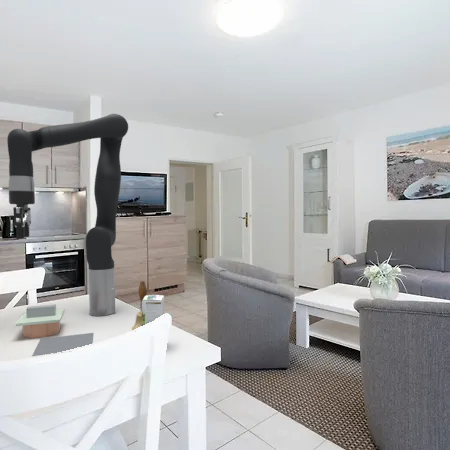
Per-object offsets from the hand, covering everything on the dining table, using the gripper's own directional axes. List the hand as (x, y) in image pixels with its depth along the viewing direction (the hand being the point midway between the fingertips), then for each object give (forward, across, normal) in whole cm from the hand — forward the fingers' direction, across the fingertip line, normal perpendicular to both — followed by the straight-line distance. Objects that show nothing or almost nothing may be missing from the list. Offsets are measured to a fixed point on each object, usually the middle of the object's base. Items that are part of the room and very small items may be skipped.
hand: (23, 237), depth 116 cm
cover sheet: (+25, -12, -7) cm, 28 cm away
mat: (+30, -25, -15) cm, 41 cm away
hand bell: (+30, -19, -38) cm, 52 cm away
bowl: (+30, -12, -7) cm, 33 cm away
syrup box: (+30, -35, -39) cm, 60 cm away
